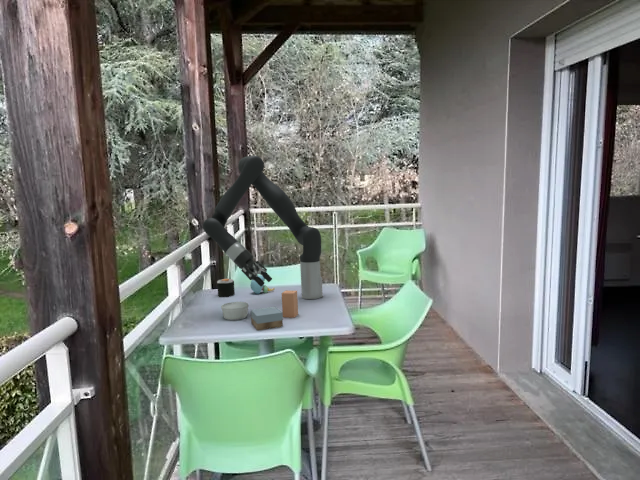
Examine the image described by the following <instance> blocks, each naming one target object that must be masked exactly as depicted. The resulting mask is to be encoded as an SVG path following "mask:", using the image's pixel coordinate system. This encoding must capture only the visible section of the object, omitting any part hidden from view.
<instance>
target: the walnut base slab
mask: <svg viewBox="0 0 640 480" xmlns="http://www.w3.org/2000/svg"><path fill="white" fill-rule="evenodd" d="M250 320H251V321H250V322H251V325H252V326H253V327H254V328H255V330H256V331H263V330H267V329H269V328H270V329H276V328H275V327H277V328H282V327H281V326H283V327H284V324H283V323H284V322H283V320H284V319H283V320H280V321H273V322H266V323H260V324H257V323H256V322H255V321H254V320H253V319H252V317H250Z"/></svg>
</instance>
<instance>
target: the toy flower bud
mask: <svg viewBox="0 0 640 480" xmlns="http://www.w3.org/2000/svg"><path fill="white" fill-rule="evenodd" d="M258 277H260V278H261V279H262V280H263V281H264V282H265V281H266V279H265V278H264V277H263V276H262V275H258ZM250 289H251V291H253V293H254V294H257V295H259V294H260V293H261V292H263V294H267V293H268V292H274V291H275V290H276V289H275V287H273V288H269V287H268V286H267V285H265V284H264V285H263V286H260V285H259V284H258V283H257V282H256V281H255V280H250Z"/></svg>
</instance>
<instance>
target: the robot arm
mask: <svg viewBox="0 0 640 480" xmlns="http://www.w3.org/2000/svg"><path fill="white" fill-rule="evenodd" d="M264 168H265V163H264V160H263V159H262V158H261V157H260V156H258V155H247V156H244V157H242V158H240V160H239V162H238V171H239V172H240V174H239V175H238V177H237V179H235V181H234V182H233V184H232V185H231V186H230V187H229V188H228V189H227V191H226V192H225V193H224V194H223V195H222V197H221V198H220V200H219V201H218V203H217V204H216V206H215V208H214V213H213V214H212V216H211V217H208V218H206V219H205V220H204V221H203V224H202V229H203V231H204V233H205V234H206V235H207V236H208V237H210V238H211V239H212V240H213V241H215V243H216V244H217V245H218V247H219V248H220V249H221V250H222V251H223V252H224V253H225V254H226V255H227V256H228V258H229V259H230V261H232V262H233V263H234V264H235V265H236V267H238V268H239V269H240V272H242V273H243V274H244V275H245V276H246V278H248V279H249V280H250V281H252V280H255V281H256V282H257V283H258V284H259V285H260V286H263V285H265V281H266V282H267V283H270V282H272V280H273V277H271V276H270V274H268V272H267V271H268V268H267V267H265V266H264V265H263V264H262V263H261V262H260V261H259V260H256V261H254V260H253V259H254V255H253V253H251V252H250V251H249V250H248V249H247V248H246V247H245V246H244V245H243V244H242V243H240V241H238V240H237V239H236V238H235V236H233V235H232V234H231V233H230V232H229V231H228V230H227V229H226V228H225V227H226V224H227V222H228V221H229V219H230V216H231V215H232V214H233V213H234V210H235V209H236V208H237V206H238V204H239V202H240V201H241V200H242V198H243V196H244V195H245V194H246V193H247V191H248V189H249V188H250V187H252V186H253V187H254V188H255V189H256V191H257V192H258V193H259V194H260V196H261V197H262V199H263V200H264V201H265V202H266V203H267V205H268V206H269V207H270V209H271V210H272V211H273V212H274V214H275V215H277V217H278V218H279V219H280V220H281V221H282V222H283V224H285V225H286V226H287V228H288V230H290V232H291V234H292V235H293V237H294V238H295V239H296V241H297V242H298V243H299V244H300V245H301V246H302V253H301V254H300V256H299V266H300V286H301V287H300V288H301V289H300V291H301V299H305V300H315V299H320V298H323V297H324V296H323V295H324V293H323V277H322V276H321V254H322V235H321V232H320V231H319V229H318V228H316V227H313V226H309V225H307V224H306V223H305V222H304V220H303V219H302V218H301V217H300V215H299V214H298V211H297V209H296V206H295V204H294V202H293V201H292V199H291V198H290V197H289V195H287V193H286V192H285V190H283V189H282V188H280V186H279V185H278V184H276V183H274V182H273V181H272V180H271V179H269V177H267V176H266V174H265V173H264ZM258 276H263V277H264V278H265V281H263V280H262V279H261V278H260V277H258Z"/></svg>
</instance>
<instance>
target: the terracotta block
mask: <svg viewBox="0 0 640 480" xmlns="http://www.w3.org/2000/svg"><path fill="white" fill-rule="evenodd" d="M298 300H299V299H298V290H284V291H283V292H282V293H281V302H282V303H281V306H282V309H281V312H283V318H291V319H292V318H296V317H297V316H298V315H299V302H298Z"/></svg>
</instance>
